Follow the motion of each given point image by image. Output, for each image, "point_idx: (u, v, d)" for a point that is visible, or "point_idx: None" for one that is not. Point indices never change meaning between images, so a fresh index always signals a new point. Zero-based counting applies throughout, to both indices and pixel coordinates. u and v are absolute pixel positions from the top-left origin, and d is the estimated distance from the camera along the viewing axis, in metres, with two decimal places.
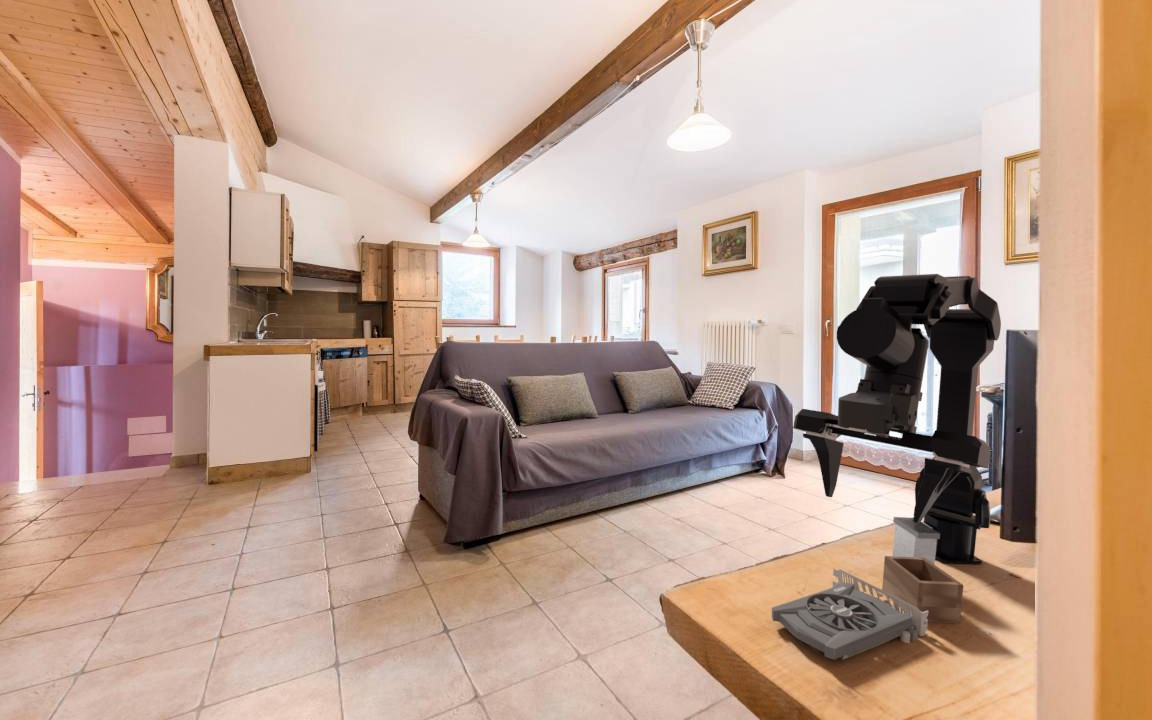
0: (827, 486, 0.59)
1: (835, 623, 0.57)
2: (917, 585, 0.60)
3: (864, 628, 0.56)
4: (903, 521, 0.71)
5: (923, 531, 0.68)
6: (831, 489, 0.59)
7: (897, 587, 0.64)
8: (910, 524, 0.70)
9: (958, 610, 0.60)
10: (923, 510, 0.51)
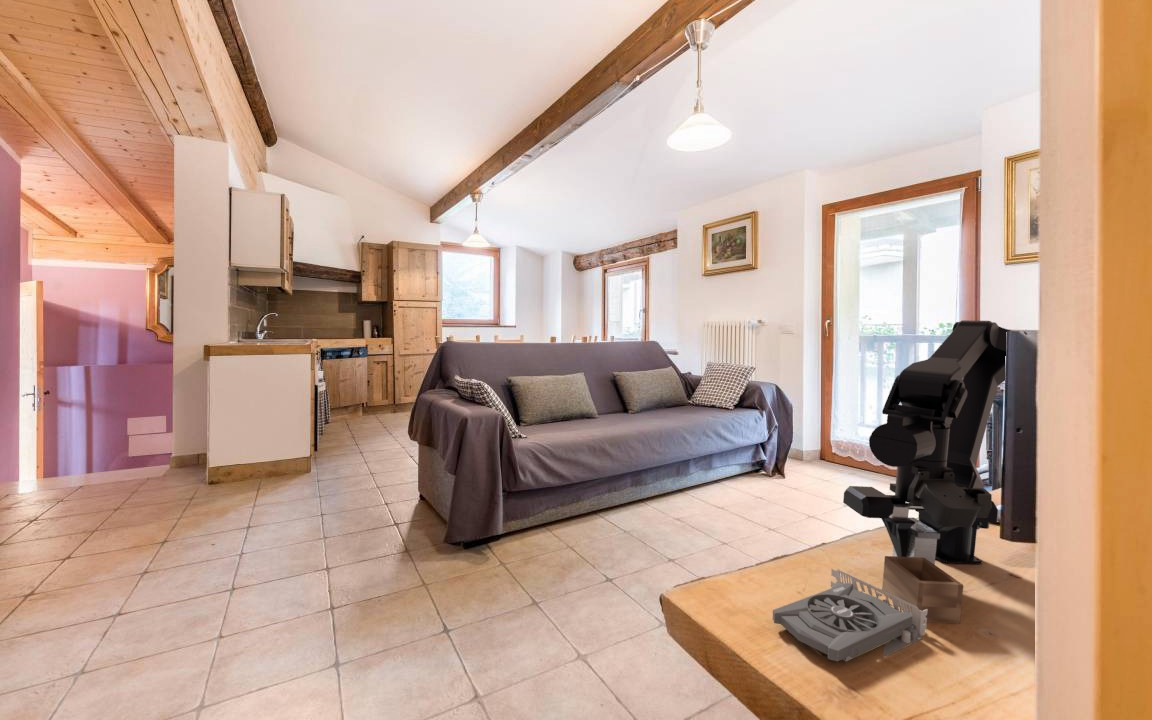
0: (904, 554, 0.70)
1: (836, 624, 0.57)
2: (917, 585, 0.60)
3: (865, 628, 0.56)
4: None
5: (923, 531, 0.68)
6: None
7: (897, 587, 0.64)
8: None
9: (958, 610, 0.60)
10: None
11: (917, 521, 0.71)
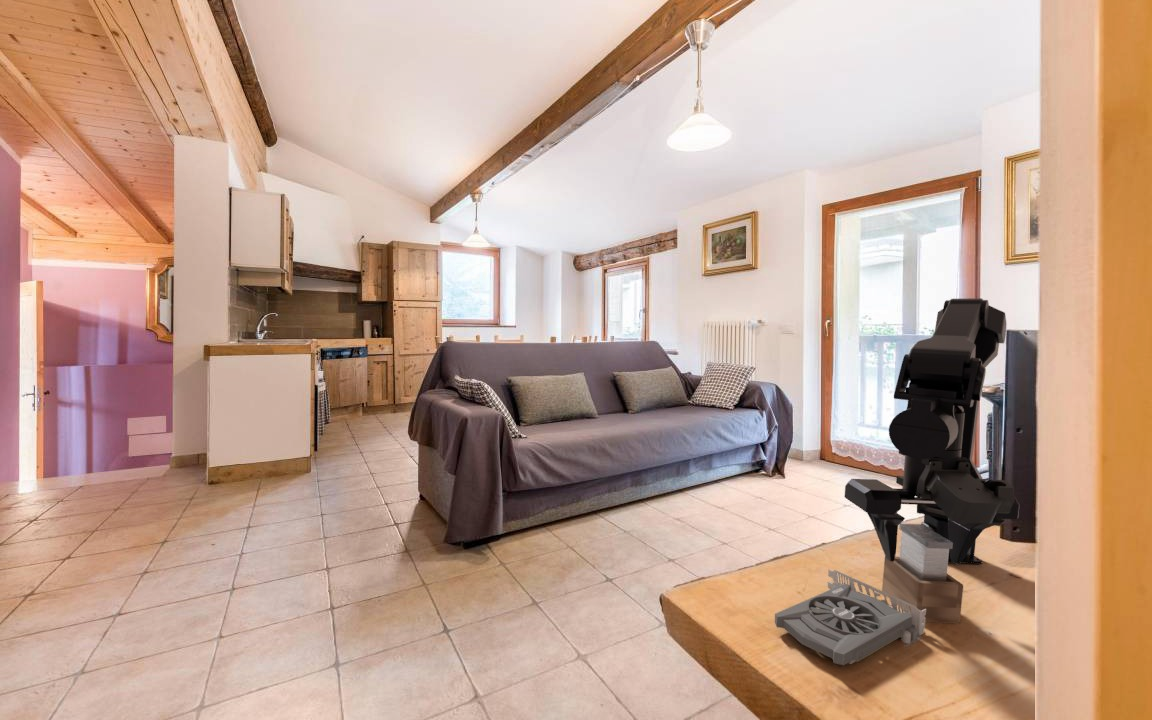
0: (893, 554, 0.62)
1: (838, 626, 0.56)
2: (917, 585, 0.60)
3: (867, 630, 0.56)
4: (910, 528, 0.64)
5: (934, 540, 0.60)
6: None
7: (897, 587, 0.64)
8: (918, 532, 0.63)
9: (958, 610, 0.60)
10: None
11: (926, 528, 0.64)
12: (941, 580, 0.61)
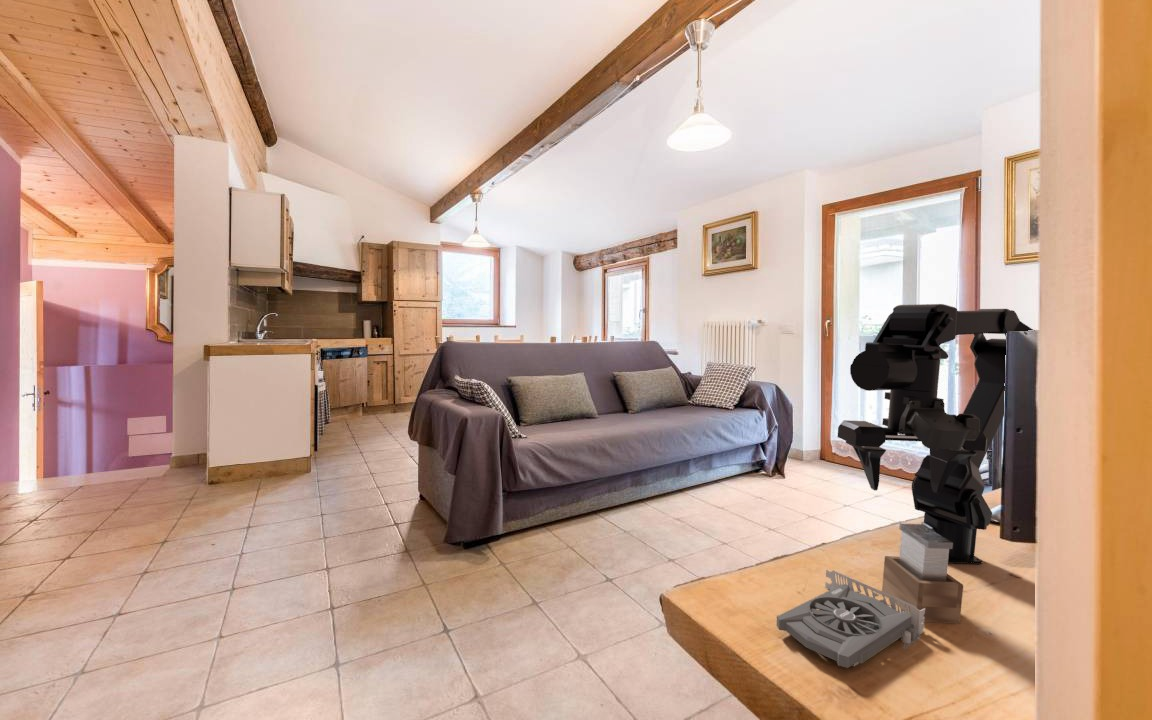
0: (877, 483, 0.72)
1: (840, 628, 0.56)
2: (917, 585, 0.60)
3: (868, 631, 0.56)
4: (910, 528, 0.64)
5: (934, 540, 0.60)
6: None
7: (897, 587, 0.64)
8: (918, 532, 0.63)
9: (958, 610, 0.60)
10: (943, 484, 0.72)
11: (926, 528, 0.64)
12: (941, 580, 0.61)
